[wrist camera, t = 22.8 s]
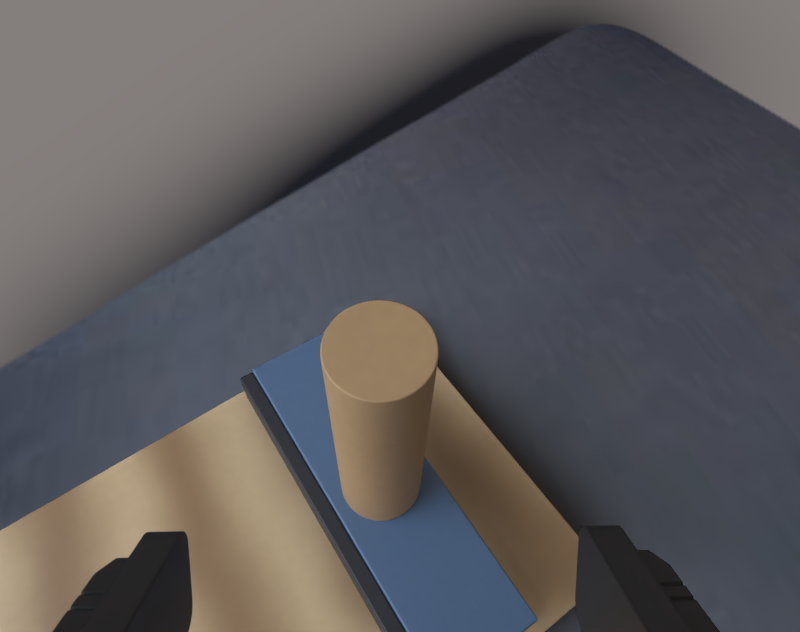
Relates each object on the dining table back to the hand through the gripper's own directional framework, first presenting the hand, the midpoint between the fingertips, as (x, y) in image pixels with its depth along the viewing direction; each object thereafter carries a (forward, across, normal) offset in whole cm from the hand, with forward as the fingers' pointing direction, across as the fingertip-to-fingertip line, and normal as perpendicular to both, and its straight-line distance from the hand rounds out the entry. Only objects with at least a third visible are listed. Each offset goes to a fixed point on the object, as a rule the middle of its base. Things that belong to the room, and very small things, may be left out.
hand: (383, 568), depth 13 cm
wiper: (+12, 0, +5) cm, 13 cm away
